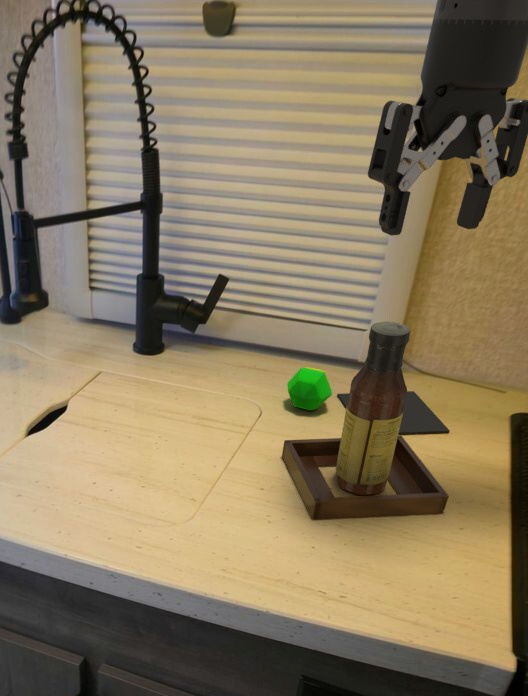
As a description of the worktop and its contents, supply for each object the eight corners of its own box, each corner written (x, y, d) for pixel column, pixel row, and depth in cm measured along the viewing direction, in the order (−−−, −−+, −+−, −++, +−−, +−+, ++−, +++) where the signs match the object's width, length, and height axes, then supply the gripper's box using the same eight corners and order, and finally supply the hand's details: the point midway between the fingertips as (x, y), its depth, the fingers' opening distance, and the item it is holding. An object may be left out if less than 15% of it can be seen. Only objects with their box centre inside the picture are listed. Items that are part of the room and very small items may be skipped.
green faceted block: (309, 368, 91) (327, 344, 97) (271, 388, 95) (291, 364, 101) (335, 411, 92) (351, 385, 99) (298, 429, 97) (315, 402, 103)
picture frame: (396, 451, 88) (401, 435, 86) (443, 513, 77) (449, 496, 75) (281, 456, 87) (284, 439, 85) (312, 519, 76) (315, 502, 74)
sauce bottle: (388, 476, 83) (431, 322, 71) (380, 503, 78) (425, 343, 66) (336, 464, 85) (369, 313, 73) (325, 489, 81) (358, 332, 69)
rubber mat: (413, 393, 101) (413, 391, 101) (449, 433, 92) (449, 430, 92) (336, 396, 100) (337, 393, 100) (365, 436, 91) (365, 433, 91)
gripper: (439, 14, 48) (387, 247, 58) (592, 16, 52) (519, 235, 61) (379, 13, 54) (341, 225, 63) (521, 15, 57) (464, 216, 67)
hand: (429, 230), depth 62 cm, fingers open, 8 cm apart
